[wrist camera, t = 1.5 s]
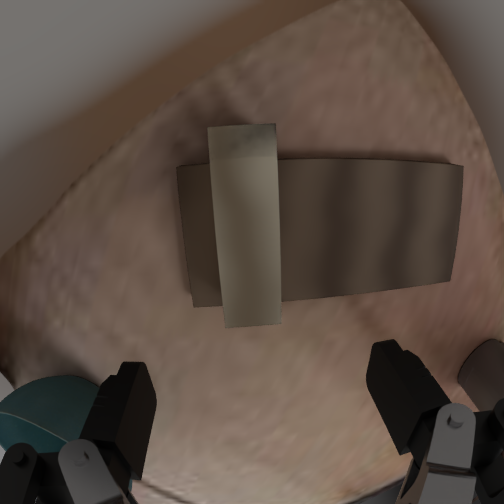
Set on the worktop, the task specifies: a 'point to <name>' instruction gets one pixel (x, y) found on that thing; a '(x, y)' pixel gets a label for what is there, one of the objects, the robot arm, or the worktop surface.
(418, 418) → the robot arm
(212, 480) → the worktop surface
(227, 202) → the beige wooden block
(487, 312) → the worktop surface
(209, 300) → the walnut plank
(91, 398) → the plant pot
